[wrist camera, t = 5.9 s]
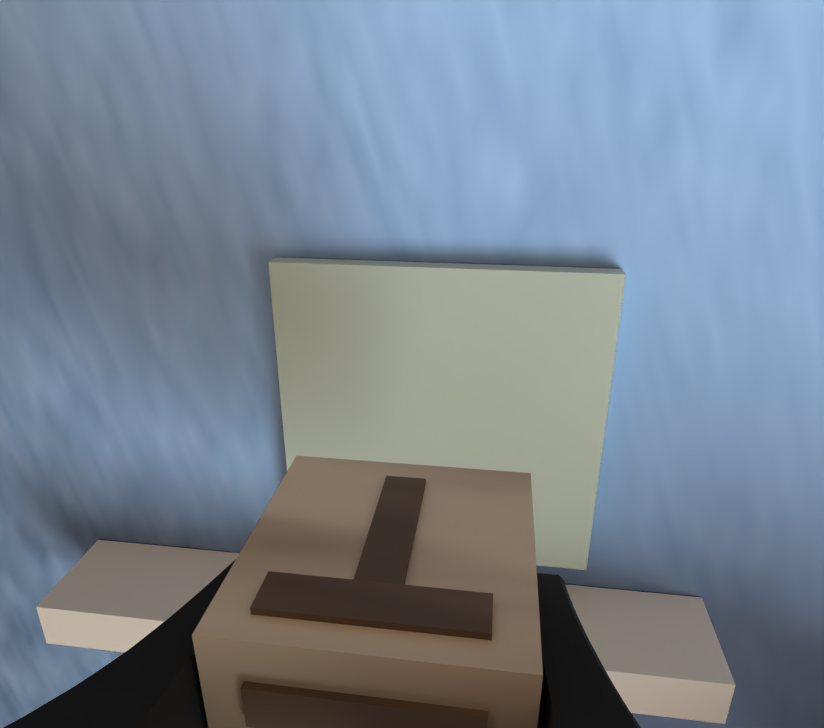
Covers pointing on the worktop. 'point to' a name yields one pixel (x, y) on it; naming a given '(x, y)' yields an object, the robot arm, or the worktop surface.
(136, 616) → the cream board
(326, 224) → the worktop surface
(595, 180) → the worktop surface
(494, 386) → the pad
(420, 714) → the lettered cube
